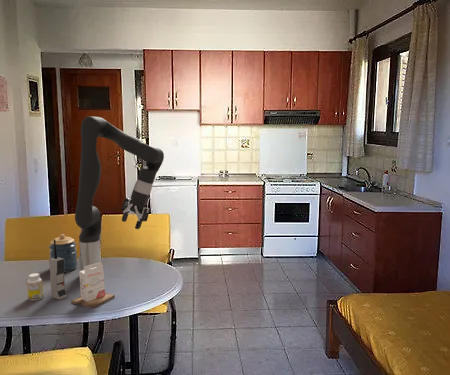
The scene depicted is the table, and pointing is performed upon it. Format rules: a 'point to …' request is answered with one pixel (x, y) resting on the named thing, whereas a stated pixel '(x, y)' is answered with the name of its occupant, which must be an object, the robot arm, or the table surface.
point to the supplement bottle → (35, 287)
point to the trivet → (93, 301)
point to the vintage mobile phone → (57, 276)
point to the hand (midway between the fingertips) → (130, 225)
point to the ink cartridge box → (92, 282)
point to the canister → (65, 251)
